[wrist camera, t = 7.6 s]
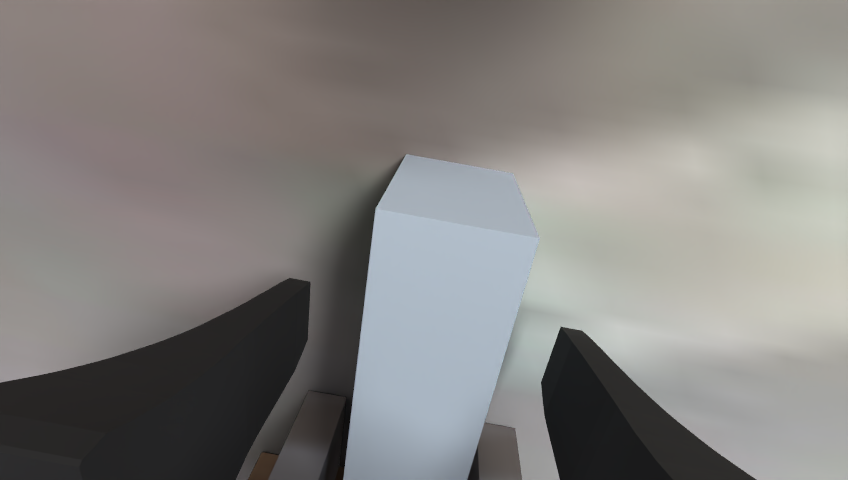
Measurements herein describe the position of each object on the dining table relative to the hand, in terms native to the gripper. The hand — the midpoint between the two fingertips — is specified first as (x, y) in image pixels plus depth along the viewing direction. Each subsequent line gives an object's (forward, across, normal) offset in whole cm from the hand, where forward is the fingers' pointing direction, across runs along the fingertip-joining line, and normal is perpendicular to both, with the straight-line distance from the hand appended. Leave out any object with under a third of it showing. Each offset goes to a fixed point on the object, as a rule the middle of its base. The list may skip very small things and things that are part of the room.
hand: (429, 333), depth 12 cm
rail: (+3, 0, +2) cm, 3 cm away
